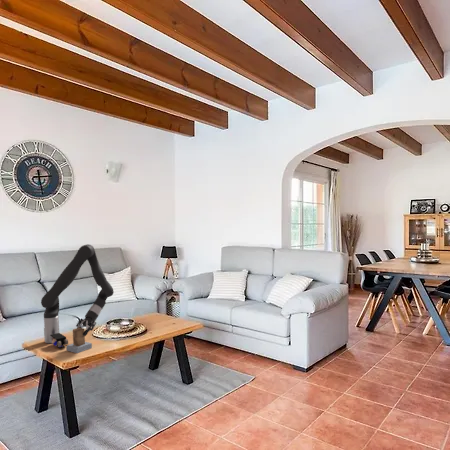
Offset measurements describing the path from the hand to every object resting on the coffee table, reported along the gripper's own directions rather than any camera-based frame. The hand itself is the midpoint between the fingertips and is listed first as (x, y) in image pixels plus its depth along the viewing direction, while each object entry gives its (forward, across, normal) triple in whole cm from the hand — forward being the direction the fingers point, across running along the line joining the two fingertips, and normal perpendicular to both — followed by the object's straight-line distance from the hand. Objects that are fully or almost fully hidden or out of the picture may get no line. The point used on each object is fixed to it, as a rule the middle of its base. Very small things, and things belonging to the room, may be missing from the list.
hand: (79, 334), depth 247 cm
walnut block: (+5, 0, +4) cm, 6 cm away
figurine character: (+9, -17, +4) cm, 20 cm away
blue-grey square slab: (+7, 0, +6) cm, 9 cm away
